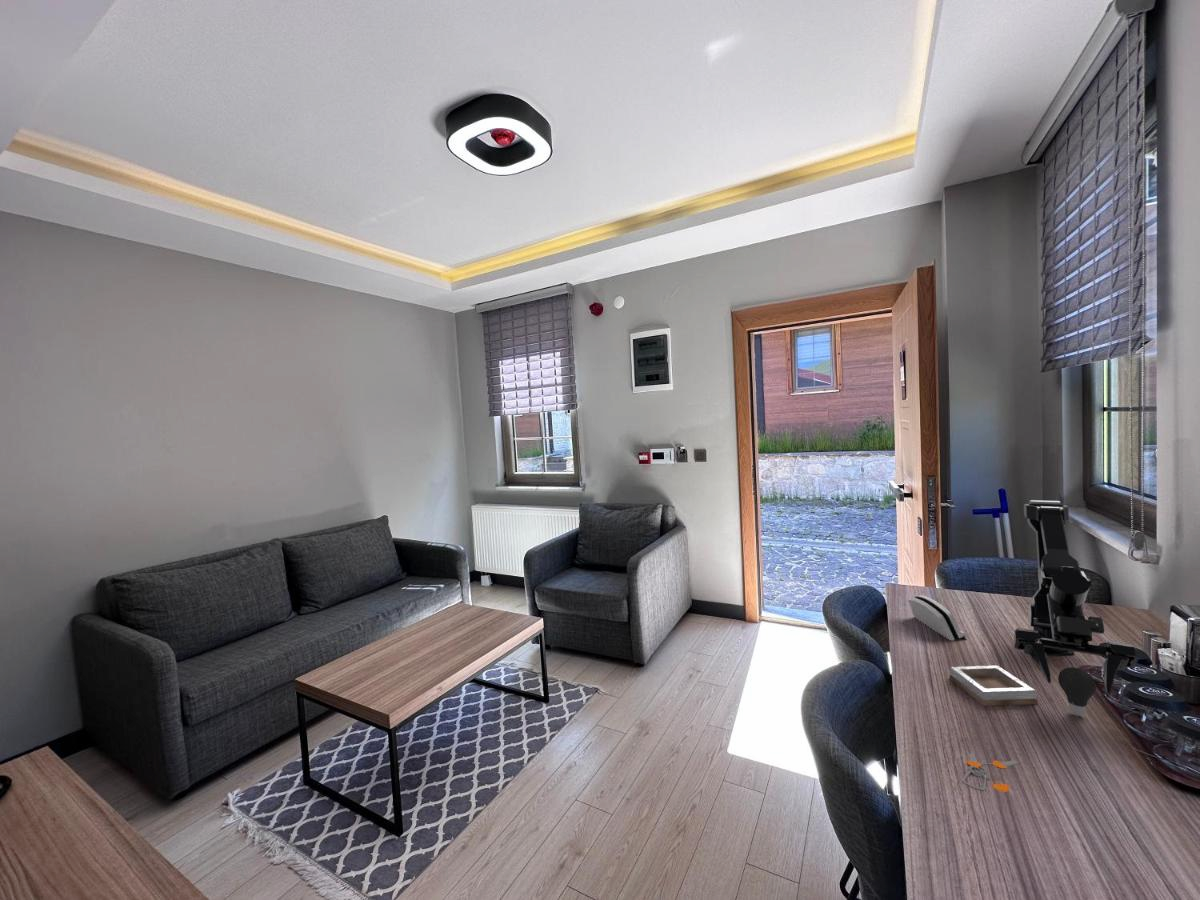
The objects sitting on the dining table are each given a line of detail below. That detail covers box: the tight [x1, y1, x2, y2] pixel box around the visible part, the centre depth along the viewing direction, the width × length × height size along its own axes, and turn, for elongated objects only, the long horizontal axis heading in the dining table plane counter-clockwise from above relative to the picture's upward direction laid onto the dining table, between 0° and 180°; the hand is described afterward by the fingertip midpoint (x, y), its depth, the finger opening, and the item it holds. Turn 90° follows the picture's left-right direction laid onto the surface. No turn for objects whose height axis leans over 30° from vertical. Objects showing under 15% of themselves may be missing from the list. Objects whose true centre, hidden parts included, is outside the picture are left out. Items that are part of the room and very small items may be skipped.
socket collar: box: [950, 665, 1036, 701], centre depth 111 cm, size 11×11×2 cm
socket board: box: [949, 674, 1038, 707], centre depth 111 cm, size 11×11×1 cm
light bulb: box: [1057, 666, 1097, 718], centre depth 100 cm, size 6×6×10 cm
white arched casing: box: [908, 594, 969, 641], centre depth 144 cm, size 17×5×10 cm, turn 179°
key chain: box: [961, 752, 1019, 793], centre depth 87 cm, size 13×7×1 cm, turn 131°
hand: (1078, 687), depth 99 cm, fingers open, 8 cm apart
